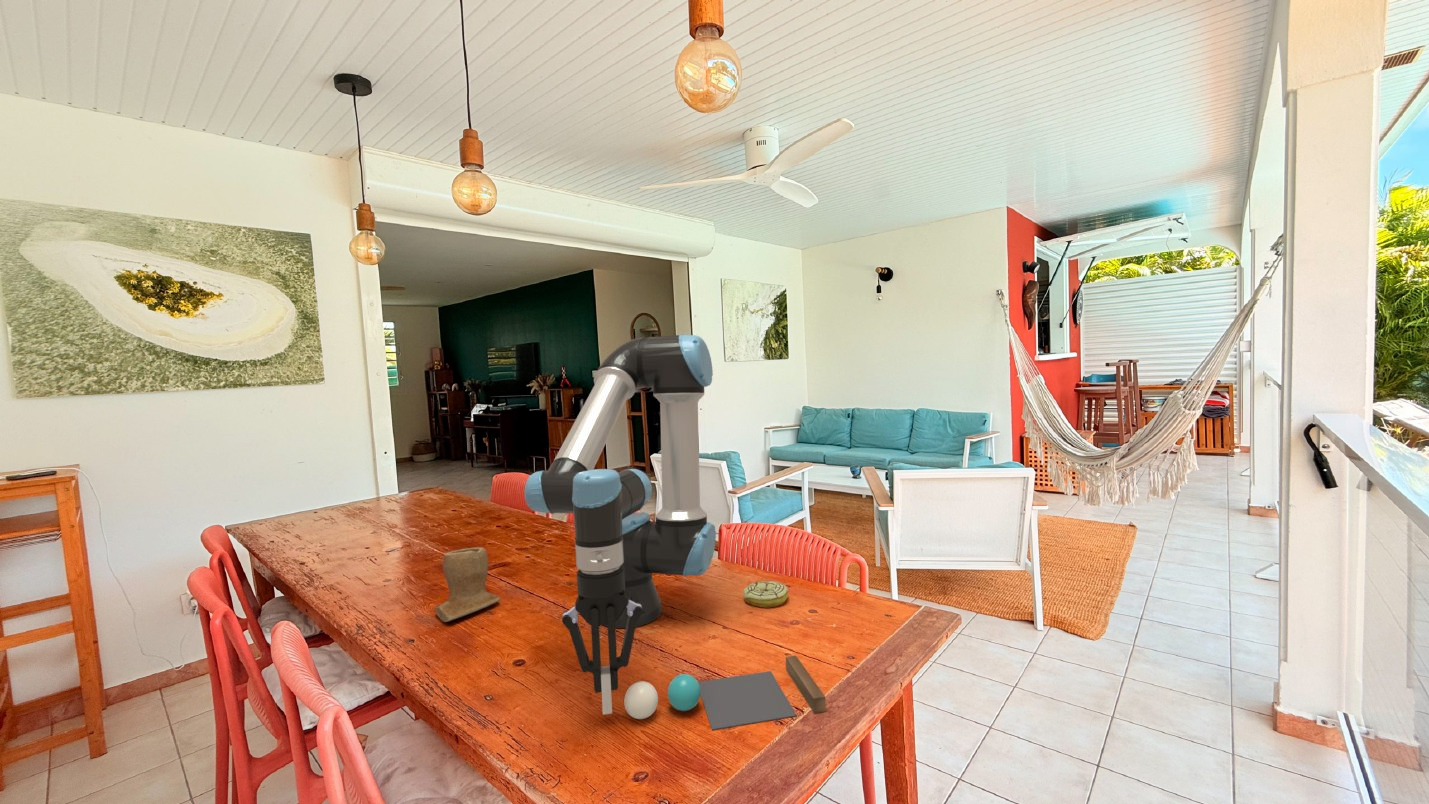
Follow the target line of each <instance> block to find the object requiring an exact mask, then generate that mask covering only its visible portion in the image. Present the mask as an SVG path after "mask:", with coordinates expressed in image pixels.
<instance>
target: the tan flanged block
mask: <svg viewBox="0 0 1429 804" xmlns="http://www.w3.org/2000/svg"><path fill="white" fill-rule="evenodd" d="M487 552H488V551H487V549H486V548H484V547H469V548H461V549H455V550H452V551H448V552H446V553H445V554H444V555H443V557H442V559H443V560H442V571H443V574H444V577H445V580H446V583H447V587H448V590H449V597H448V599H447V601H445V602H443V603H442V604H440V605H437V606H436V607H435V608H434V612H435V613H436V615H437V616H438V618H439V620H441V622H444V623H447V622H451V621H454V620H456V619H457V620H458V619H459V618H462V617H465V616H467V615H470V614H473V613H475V612H477V611H480V610H482V609H485V608H487V607H490V606H491V605H493V604H496V603H497V602H499V601H500V599H501V597H500V596H499V595H498V594H494V593H491V592H488V591H487V590H486V582H487V577H488V573H489V571H488V570H489V558H488V553H487Z"/></svg>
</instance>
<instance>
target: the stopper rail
mask: <svg viewBox="0 0 1429 804" xmlns="http://www.w3.org/2000/svg"><path fill="white" fill-rule="evenodd" d="M785 671H786V672H787V674H788V675H789V676H790V678H791V679H792V681H793V683H794V684H795V686H796V687H797V689H798V690H799V692H800V694H801V695H802V697H803V698H804V700H805V702H806V703H807V704H808V706H809V708H810V710H811V711H812V712H813V714H818V713H820V714H821V713H824V712H826V711H827V710H826V709H827V708H826V706H827V704H826V695H825V694H824V693H823V690H821V688H820V687H819V686H818V685H817V683H816V682H815V680H814V679H813V677H812V675H810V673H809V671H808V670H807V669H806V668H805V666H804V664H803V663H802V662H801V660H800V659H799V657H798V656H797V655H795V654H794V655H789V656H785Z"/></svg>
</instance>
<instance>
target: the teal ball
mask: <svg viewBox="0 0 1429 804" xmlns="http://www.w3.org/2000/svg"><path fill="white" fill-rule="evenodd" d="M698 682H699V681H698V680H697V678H695V677H694V676H692V675H690V674H687V673H682V674H678V675H676V676H675V677H674V678H673V679H672V680H671V681H670V683H669V685H668V688H667V698H668V701H669V704H670V705H671V707H673V708H674V709H676V710H677V711H680V712H688V711H690V710H692V709H694V708H695V707H696V706H697V704H698V703H699V700H700V698H701V695H700V694H701V690H700V685H699V683H698Z"/></svg>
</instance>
